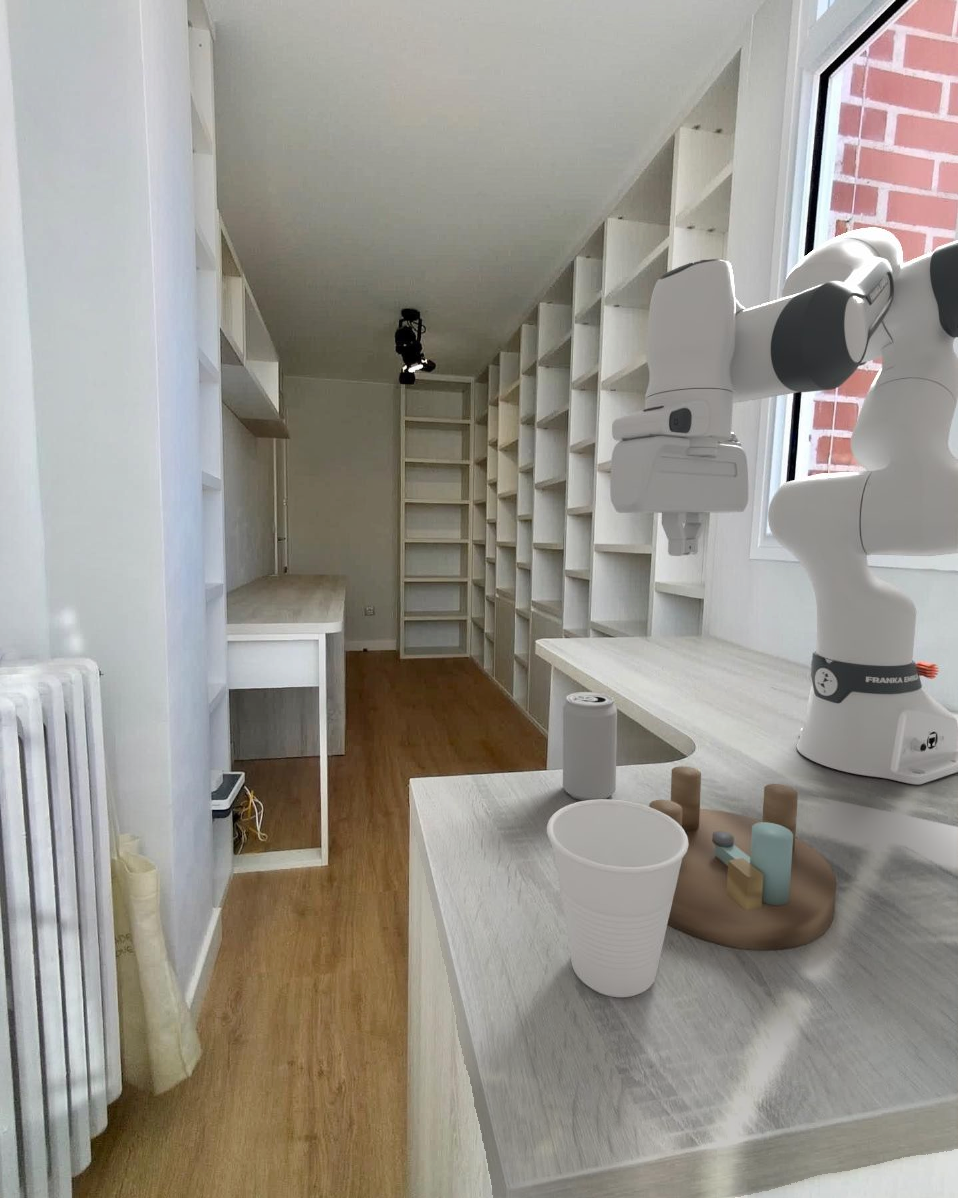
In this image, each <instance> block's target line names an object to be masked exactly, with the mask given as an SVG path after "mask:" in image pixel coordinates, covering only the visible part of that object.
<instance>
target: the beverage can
mask: <svg viewBox="0 0 958 1198" xmlns="http://www.w3.org/2000/svg"><path fill="white" fill-rule="evenodd" d="M565 700H566V702H565V703H564V705H563V706H562V787H563V790H564V791H565V792H566V793H568V795H570V797H572V798H573V799H576V800H579V801H587V800H597V799H609V798H610V796H612V795H613V794H615V792H616V789H617V742H618V741H617V740H618V739H617V735H618V734H617V729H618V728H617V727H618V724H617V723H618V709H617V707H616V705H615V704H614V703H615V698H614V697H613V696H611V695H609V694H607V693H602V692H597V691H580V692H579V691H578V692H573V693H570V694H568V695H566V697H565Z"/></svg>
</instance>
